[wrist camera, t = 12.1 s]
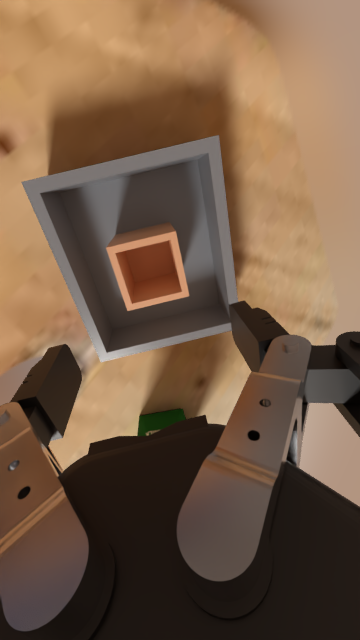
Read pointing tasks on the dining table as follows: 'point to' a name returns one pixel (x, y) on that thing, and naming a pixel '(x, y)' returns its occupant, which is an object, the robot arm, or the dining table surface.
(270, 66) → the dining table surface
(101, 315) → the big crate
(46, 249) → the dining table surface
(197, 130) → the dining table surface
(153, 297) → the box
